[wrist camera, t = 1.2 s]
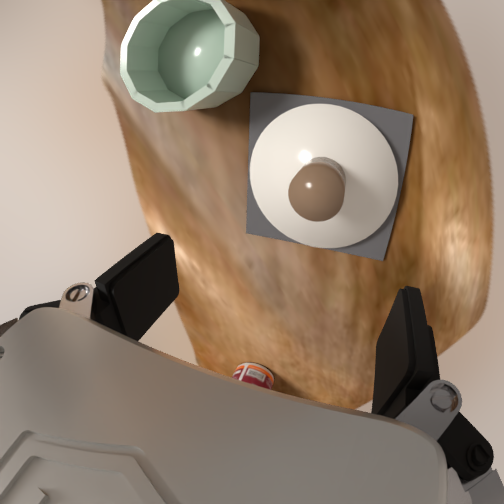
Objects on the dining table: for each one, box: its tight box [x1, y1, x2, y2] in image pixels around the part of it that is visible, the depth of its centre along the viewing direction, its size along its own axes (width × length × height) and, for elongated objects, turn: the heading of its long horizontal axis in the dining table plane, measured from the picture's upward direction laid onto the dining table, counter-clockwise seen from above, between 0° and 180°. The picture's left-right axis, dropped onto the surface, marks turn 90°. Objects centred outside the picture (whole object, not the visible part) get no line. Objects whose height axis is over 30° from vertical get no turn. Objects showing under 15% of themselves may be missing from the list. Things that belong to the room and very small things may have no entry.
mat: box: [246, 92, 413, 261], centre depth 24 cm, size 14×14×1 cm
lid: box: [250, 104, 398, 248], centre depth 22 cm, size 13×13×5 cm
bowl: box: [120, 0, 260, 112], centre depth 20 cm, size 11×11×6 cm
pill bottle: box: [232, 363, 274, 390], centre depth 37 cm, size 6×6×11 cm
